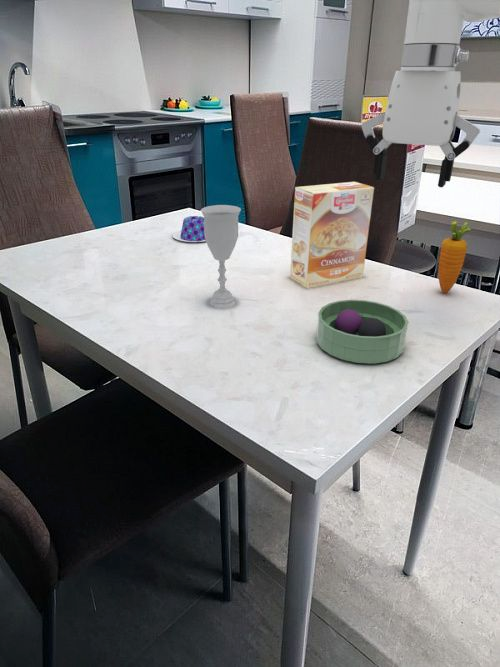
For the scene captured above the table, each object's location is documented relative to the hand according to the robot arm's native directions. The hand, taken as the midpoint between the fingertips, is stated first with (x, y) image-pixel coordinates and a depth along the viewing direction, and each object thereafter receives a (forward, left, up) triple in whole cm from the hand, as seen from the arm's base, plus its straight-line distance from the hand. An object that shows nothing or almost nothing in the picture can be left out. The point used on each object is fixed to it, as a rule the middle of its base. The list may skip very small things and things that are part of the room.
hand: (409, 182), depth 80 cm
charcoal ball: (+10, +3, -21) cm, 23 cm away
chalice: (+22, -22, -24) cm, 40 cm away
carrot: (-19, -3, -24) cm, 31 cm away
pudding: (+7, -63, -24) cm, 68 cm away
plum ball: (+11, +3, -22) cm, 25 cm away
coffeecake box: (-4, -22, -24) cm, 33 cm away
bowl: (+11, +4, -24) cm, 27 cm away
